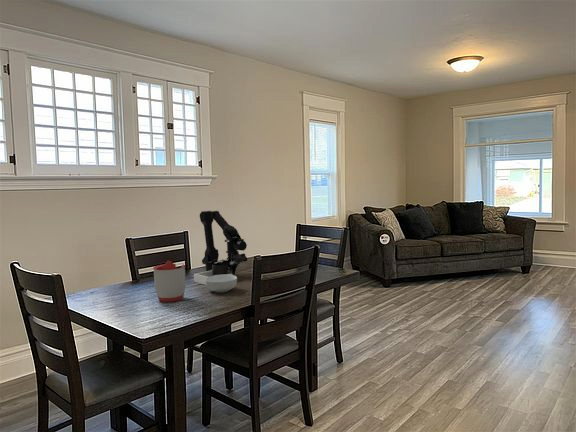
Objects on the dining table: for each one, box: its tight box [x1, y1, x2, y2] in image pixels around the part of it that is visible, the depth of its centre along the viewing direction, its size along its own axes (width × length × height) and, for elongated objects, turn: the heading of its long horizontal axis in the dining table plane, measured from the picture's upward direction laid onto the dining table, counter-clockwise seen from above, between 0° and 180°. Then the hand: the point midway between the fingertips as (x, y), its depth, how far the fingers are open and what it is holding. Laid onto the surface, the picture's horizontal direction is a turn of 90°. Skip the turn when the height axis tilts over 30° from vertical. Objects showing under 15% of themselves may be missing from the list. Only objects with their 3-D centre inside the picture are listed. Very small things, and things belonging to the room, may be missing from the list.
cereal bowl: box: [205, 274, 238, 294], centre depth 242 cm, size 17×17×7 cm
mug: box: [212, 262, 232, 276], centre depth 269 cm, size 9×12×9 cm
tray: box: [193, 270, 233, 286], centre depth 264 cm, size 18×14×4 cm
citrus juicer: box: [152, 260, 186, 303], centre depth 228 cm, size 16×17×20 cm
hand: (233, 274), depth 274 cm, fingers closed
